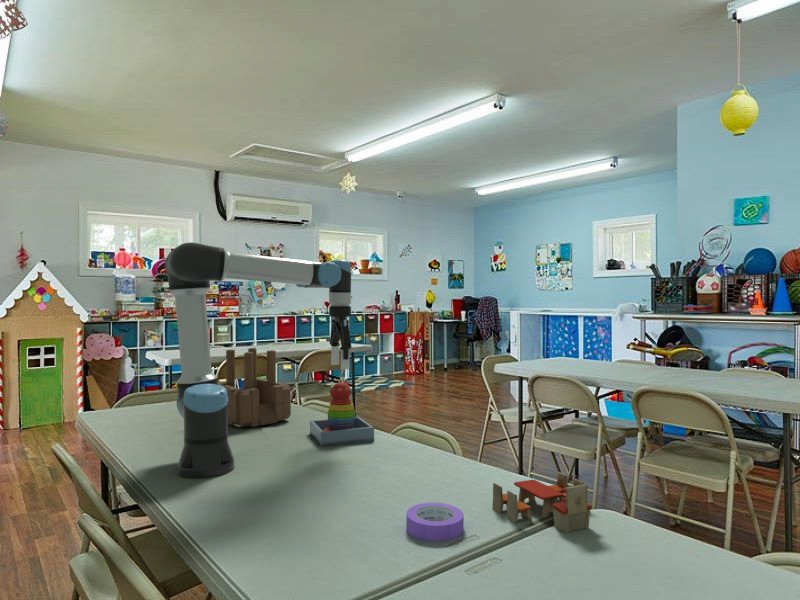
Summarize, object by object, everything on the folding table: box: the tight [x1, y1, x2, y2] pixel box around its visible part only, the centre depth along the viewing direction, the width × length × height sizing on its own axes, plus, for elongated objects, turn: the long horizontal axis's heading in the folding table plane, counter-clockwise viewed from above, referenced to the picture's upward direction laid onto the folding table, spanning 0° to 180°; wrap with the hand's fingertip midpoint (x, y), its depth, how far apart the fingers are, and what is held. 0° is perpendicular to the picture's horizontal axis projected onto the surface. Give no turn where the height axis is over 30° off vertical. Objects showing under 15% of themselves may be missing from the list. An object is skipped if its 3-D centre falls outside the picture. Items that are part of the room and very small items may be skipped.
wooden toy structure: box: [218, 347, 292, 428], centre depth 217 cm, size 23×30×27 cm
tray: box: [309, 416, 375, 447], centre depth 185 cm, size 18×18×4 cm
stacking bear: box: [323, 381, 356, 432], centre depth 185 cm, size 11×10×18 cm
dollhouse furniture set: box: [491, 471, 593, 534], centre depth 116 cm, size 19×19×10 cm
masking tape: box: [405, 502, 465, 542], centre depth 110 cm, size 12×12×4 cm
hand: (339, 367), depth 185 cm, fingers open, 13 cm apart
